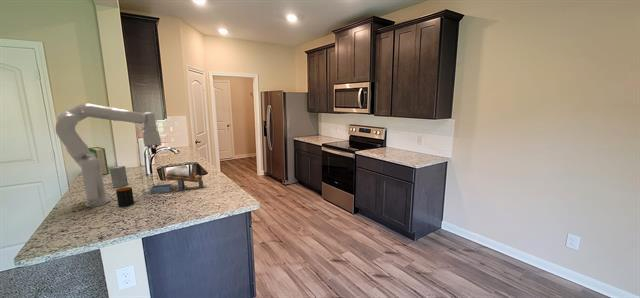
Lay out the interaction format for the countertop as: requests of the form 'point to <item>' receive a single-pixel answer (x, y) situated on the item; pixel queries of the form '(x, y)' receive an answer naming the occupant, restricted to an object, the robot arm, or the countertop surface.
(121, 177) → the skincare box
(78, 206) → the countertop surface
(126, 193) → the mug
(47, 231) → the countertop surface
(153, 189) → the dish
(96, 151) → the hardback book
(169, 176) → the brown flat board
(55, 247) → the countertop surface
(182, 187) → the fulcrum
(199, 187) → the rest block
